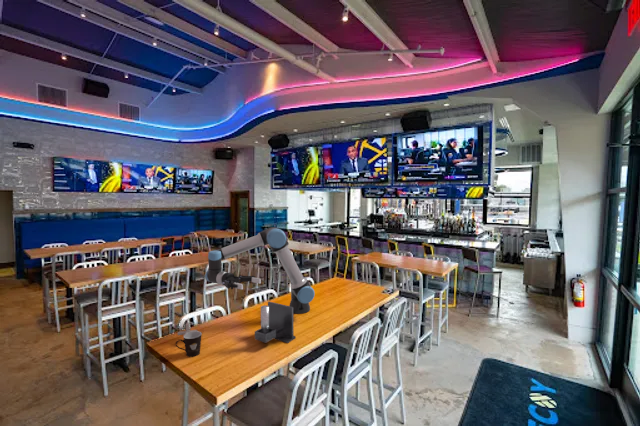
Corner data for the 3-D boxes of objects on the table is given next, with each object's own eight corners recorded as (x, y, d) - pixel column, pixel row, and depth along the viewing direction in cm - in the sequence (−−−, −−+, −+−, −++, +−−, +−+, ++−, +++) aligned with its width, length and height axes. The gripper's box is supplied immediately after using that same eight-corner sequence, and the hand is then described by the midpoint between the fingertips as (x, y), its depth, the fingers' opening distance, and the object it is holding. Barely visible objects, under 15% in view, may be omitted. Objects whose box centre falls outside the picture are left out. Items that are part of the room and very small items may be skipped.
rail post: (265, 333, 170) (264, 304, 169) (271, 335, 168) (270, 306, 167) (259, 336, 166) (259, 307, 166) (265, 338, 164) (265, 308, 163)
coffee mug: (204, 349, 162) (204, 331, 162) (198, 358, 154) (198, 338, 153) (182, 350, 162) (181, 331, 162) (175, 358, 153) (174, 339, 153)
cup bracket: (271, 331, 185) (271, 300, 184) (295, 338, 175) (295, 306, 174) (248, 343, 169) (247, 310, 168) (273, 352, 159) (272, 317, 158)
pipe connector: (176, 346, 166) (176, 328, 166) (179, 338, 176) (179, 321, 175) (196, 344, 169) (195, 326, 168) (198, 336, 178) (198, 319, 178)
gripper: (241, 280, 193) (267, 285, 182) (208, 290, 173) (234, 296, 161) (241, 268, 193) (266, 272, 182) (208, 277, 172) (234, 282, 161)
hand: (251, 283), depth 171 cm, fingers open, 13 cm apart
